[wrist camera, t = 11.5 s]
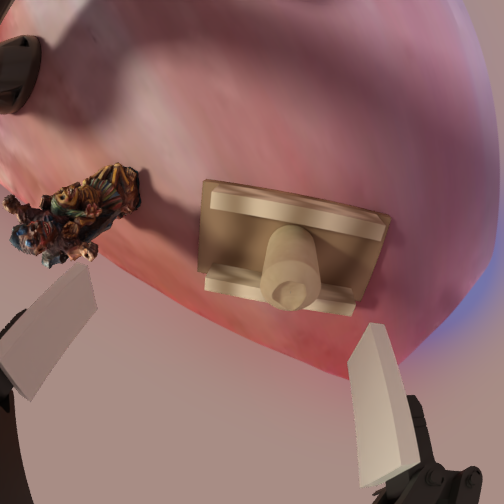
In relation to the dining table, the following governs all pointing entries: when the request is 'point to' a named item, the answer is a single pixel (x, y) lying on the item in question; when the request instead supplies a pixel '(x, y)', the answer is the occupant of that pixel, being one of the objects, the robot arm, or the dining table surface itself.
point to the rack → (272, 218)
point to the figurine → (74, 215)
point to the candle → (290, 269)
